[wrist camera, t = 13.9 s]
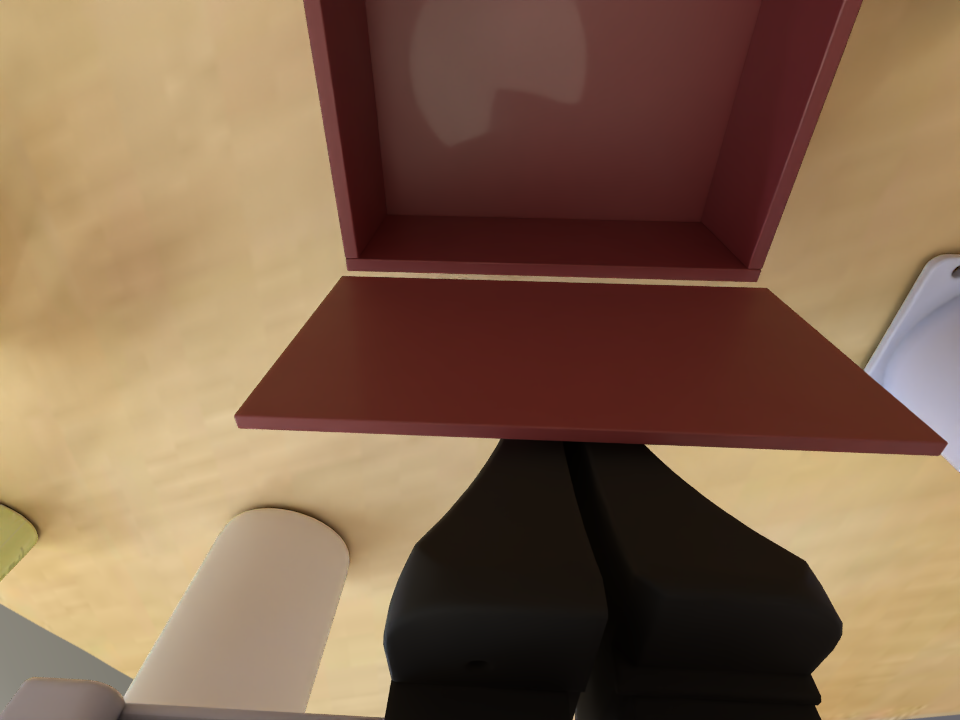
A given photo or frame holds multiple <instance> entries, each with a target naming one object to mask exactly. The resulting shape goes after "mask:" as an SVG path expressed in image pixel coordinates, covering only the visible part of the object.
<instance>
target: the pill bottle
mask: <svg viewBox="0 0 960 720" xmlns="http://www.w3.org/2000/svg"><path fill="white" fill-rule="evenodd" d="M348 567H349V552H348V549H347V546H346V544H345V542H344V541H343V540H342V538H341V537H340V536H339V535H338V534H337V533H336V532H335V531H334V530H332V529H331V528H330V527H328V526H327V525H325V524H324V523H322V522H320V521H318V520H316V519H314V518H312V517H310V516H307V515H304V514H301V513H298V512H294V511H290V510H284V509H276V508H260V509H253V510H249V511H245V512H243V513H240V514H239V515H237V516H235V517H234V518H232V519H231V520H230V521H229V522H228V523H227V524H226V525H225V527H224V528H223V529H222V531H221V532H220V533H219V535H218V536H217V538H216V540H215V542H214V543H213V545H212V547H211V548H210V550H209V552H208V554H207V555H206V557H205V559H204V560H203V562H202V564H201V565H200V567H199V569H198V571H197V572H196V574H195V576H194V577H193V579H192V581H191V583H190V584H189V586H188V588H187V589H186V591H185V593H184V595H183V596H182V598H181V600H180V601H179V603H178V605H177V607H176V608H175V610H174V612H173V613H172V615H171V617H170V618H169V620H168V622H167V624H166V625H165V627H164V629H163V630H162V632H161V634H160V636H159V637H158V639H157V641H156V642H155V644H154V646H153V648H152V649H151V651H150V653H149V654H148V656H147V658H146V660H145V661H144V663H143V665H142V666H141V668H140V670H139V671H138V673H137V675H136V677H135V678H134V680H133V682H132V684H131V685H130V687H129V689H128V690H127V692H126V694H125V695H124V697H123V698H124V700H125V703H139V704H156V705H173V706H190V707H207V708H225V709H242V710H259V711H276V712H293V713H305V710H306V707H307V704H308V700H309V697H310V694H311V691H312V687H313V684H314V681H315V678H316V674H317V671H318V668H319V665H320V661H321V658H322V655H323V652H324V648H325V645H326V642H327V639H328V635H329V632H330V629H331V626H332V622H333V619H334V616H335V612H336V609H337V606H338V603H339V599H340V596H341V593H342V590H343V586H344V583H345V580H346V577H347V572H348Z"/></svg>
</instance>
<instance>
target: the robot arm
mask: <svg viewBox="0 0 960 720" xmlns="http://www.w3.org/2000/svg"><path fill="white" fill-rule="evenodd" d="M958 266H960V254H943V255H939V256H937V257H934V258H933V259H931V260H930V261H929V262H928V263H927V264H926V265H925V267H924V268H923V270H922V272H921V273H920V275H919V277H918V279H917V280H916V282H915V284H914V285H913V287H912V289H911V290H910V292H909V294H908V296H907V297H906V299H905V301H904V302H903V304H902V306H901V308H900V309H899V311H898V313H897V314H896V316H895V318H894V319H893V321H892V323H891V325H890V326H889V328H888V330H887V331H886V333H885V335H884V337H883V338H882V340H881V342H880V343H879V345H878V347H877V348H876V350H875V352H874V354H873V355H872V357H871V359H870V360H869V362H868V364H867V366H866V367H865V369H864V371H865V372H866V373H867V374H868V375H869V376H871V377H872V378H873V379H874V380H875V381H876V382H878V383H879V384H880V385H881V386H882V387H884V388H885V389H886V390H887V391H888V392H889V393H891V394H892V395H893V396H894V397H895V398H896V399H898V400H899V401H900V402H901V403H902V404H903V405H905V406H906V407H907V408H908V409H909V410H910V411H912V412H913V413H914V414H915V415H916V416H917V417H919V418H920V419H921V420H922V421H923V422H925V423H926V424H927V425H928V426H929V427H930V428H932V429H933V430H934V431H935V432H936V433H937V434H939V435H940V436H941V437H942V438H943V439H944V440H946V441H947V442H948V445H947V446H946V447H945V449H944V450H943V452H942V453H941V455H942V456H943V457H944V458H945V459H946V460H947V461H948V462H949V463H950V464H951V465H952V466H953V467H954V468H955V469H956V470H957V471H958V472H959V473H960V267H959V268H958V269H957V270H956V271H954V272H953V270H954V269H955V268H956V267H958ZM952 272H953V273H952ZM842 626H843V623H842V621H841V620H840V618H839V616H838V614H837V612H836V611H835V609H834V607H833V605H832V604H831V602H830V600H829V598H828V596H827V594H826V592H825V591H824V589H823V587H822V585H821V584H820V582H819V581H818V579H817V578H816V576H815V575H814V573H813V572H812V570H811V569H810V567H809V565H808V564H807V562H806V561H804V560H803V559H801V558H799V557H798V556H796V555H794V554H793V553H791V552H789V551H787V550H786V549H784V548H782V547H781V546H779V545H777V544H776V543H774V542H772V541H770V540H769V539H767V538H765V537H764V536H762V535H760V534H759V533H757V532H755V531H754V530H752V529H751V528H749V527H747V526H746V525H744V524H743V523H741V522H740V521H738V520H737V519H736V518H734V517H733V516H731V515H730V514H728V513H727V512H725V511H724V510H722V509H721V508H719V507H718V506H717V505H715V504H714V503H712V502H711V501H710V500H708V499H707V498H706V497H704V496H703V495H702V494H700V493H699V492H698V491H697V490H695V489H694V488H693V487H692V486H690V485H689V484H688V483H686V482H685V481H684V480H683V479H681V478H680V477H679V476H678V475H677V474H675V473H674V472H673V471H672V470H671V469H670V468H669V467H667V466H666V465H665V464H664V463H663V462H662V461H661V460H660V459H659V458H658V457H657V456H656V455H654V454H653V453H652V452H651V451H650V450H649V449H648V448H647V447H646V446H645V445H644V444H625V443H599V442H574V441H548V440H523V439H500V441H499V443H498V445H497V446H496V448H495V450H494V451H493V453H492V455H491V456H490V458H489V459H488V461H487V462H486V464H485V465H484V467H483V468H482V470H481V471H480V473H479V474H478V475H477V477H476V478H475V480H474V481H473V482H472V484H471V485H470V486H469V487H468V489H467V490H466V491H465V492H464V493H463V495H462V496H461V497H460V498H459V499H458V500H457V502H456V503H455V504H454V505H453V506H452V507H451V509H450V510H449V511H448V512H447V513H446V514H445V515H444V516H443V518H442V519H441V520H440V521H439V522H438V523H436V524H435V525H434V526H433V527H432V528H431V529H430V530H429V531H428V532H427V533H426V534H425V535H424V536H423V537H422V538H421V539H420V540H419V541H418V542H417V543H416V544H415V546H414V548H413V550H412V552H411V554H410V556H409V558H408V560H407V562H406V564H405V566H404V568H403V570H402V573H401V575H400V577H399V579H398V582H397V584H396V587H395V590H394V593H393V596H392V599H391V602H390V605H389V610H388V615H387V620H386V625H385V630H384V640H383V645H384V649H385V654H386V658H387V662H388V666H389V671H390V675H391V679H392V680H391V685H390V691H389V697H388V702H387V708H386V714H385V718H380V717H362V716H345V715H328V714H311V713H293V712H276V711H259V710H242V709H225V708H207V707H190V706H173V705H156V704H139V703H125V700H124V698H123V697H122V695H121V694H120V693H119V692H118V691H117V690H116V689H114V688H113V687H111V686H110V685H107V684H104V683H101V682H98V681H91V680H79V679H62V678H60V679H59V678H44V677H32V678H29V679H27V680H25V681H24V683H23V684H22V685H21V687H20V688H19V689H18V691H17V692H16V694H15V695H14V696H13V698H12V699H11V700H10V702H9V703H8V704H7V706H6V707H5V708H4V710H3V711H2V713H1V714H0V720H573V716H574V713H575V720H821V718H820V716H819V714H818V711H817V709H816V707H815V705H819V704H820V703H821V695H820V693H819V691H818V689H817V687H816V684H815V682H814V680H813V678H812V676H811V673H812V672H813V671H814V670H815V669H816V668H817V667H818V666H819V665H820V664H821V662H822V661H823V660H824V659H825V658H826V657H827V656H828V655H829V654H830V653H831V652H832V651H833V649H834V648H835V646H836V645H837V643H838V641H839V640H840V638H841V636H842Z"/></svg>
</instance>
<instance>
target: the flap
mask: <svg viewBox="0 0 960 720" xmlns="http://www.w3.org/2000/svg"><path fill="white" fill-rule="evenodd" d="M234 417H235V420H236V423H237V426H238V428H243V429H268V430H294V431H319V432H345V433H370V434H396V435H421V436H447V437H472V438H497V439H523V440H548V441H574V442H599V443H625V444H650V445H675V446H701V447H726V448H752V449H777V450H803V451H828V452H853V453H879V454H904V455H930V456H939V455H940V454H941V453H942V452H943V450H944V449H945V447H946V446H947V445H948V442H947V441H946V440H944V439H943V438H942V437H941V436H940V435H939V434H937V433H936V432H935V431H934V430H933V429H932V428H930V427H929V426H928V425H927V424H926V423H925V422H923V421H922V420H921V419H920V418H919V417H917V416H916V415H915V414H914V413H913V412H912V411H910V410H909V409H908V408H907V407H906V406H905V405H903V404H902V403H901V402H900V401H899V400H898V399H896V398H895V397H894V396H893V395H892V394H891V393H889V392H888V391H887V390H886V389H885V388H884V387H882V386H881V385H880V384H879V383H878V382H876V381H875V380H874V379H873V378H872V377H871V376H869V375H868V374H867V373H866V372H865V371H864V370H862V369H861V368H860V367H859V366H858V365H857V364H855V363H854V362H853V361H852V360H851V359H850V358H848V357H847V356H846V355H845V354H844V353H842V352H841V351H840V350H839V349H838V348H837V347H835V346H834V345H833V344H832V343H831V342H830V341H828V340H827V339H826V338H825V337H824V336H823V335H821V334H820V333H819V332H818V331H817V330H816V329H814V328H813V327H812V326H811V325H810V324H809V323H807V322H806V321H805V320H804V319H803V318H801V317H800V316H799V315H798V314H797V313H796V312H794V311H793V310H792V309H791V308H790V307H789V306H787V305H786V304H785V303H784V302H783V301H782V300H780V299H779V298H778V297H777V296H776V295H775V294H773V293H772V292H771V291H770V290H769V289H768V288H747V287H711V286H676V285H640V284H604V283H569V282H533V281H498V280H462V279H427V278H391V277H356V276H342V277H341V278H340V280H339V281H338V282H337V283H336V285H335V286H334V287H333V289H332V290H331V291H330V293H329V294H328V295H327V296H326V298H325V299H324V300H323V302H322V303H321V304H320V305H319V307H318V308H317V309H316V311H315V312H314V313H313V314H312V316H311V317H310V318H309V320H308V321H307V322H306V323H305V325H304V326H303V327H302V329H301V330H300V331H299V332H298V334H297V335H296V336H295V338H294V339H293V340H292V341H291V343H290V344H289V345H288V347H287V348H286V349H285V350H284V352H283V353H282V354H281V356H280V357H279V358H278V360H277V361H276V362H275V363H274V365H273V366H272V367H271V369H270V370H269V371H268V372H267V374H266V375H265V376H264V378H263V379H262V380H261V381H260V383H259V384H258V385H257V387H256V388H255V389H254V390H253V392H252V393H251V394H250V396H249V397H248V398H247V399H246V401H245V402H244V403H243V405H242V406H241V407H240V408H239V410H238V411H237V412H236V414H235V416H234Z"/></svg>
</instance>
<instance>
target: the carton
mask: <svg viewBox="0 0 960 720" xmlns="http://www.w3.org/2000/svg"><path fill="white" fill-rule="evenodd" d="M862 1H863V0H303V2H304V8H305V14H306V20H307V26H308V33H309V39H310V45H311V51H312V57H313V63H314V69H315V75H316V81H317V88H318V94H319V100H320V106H321V112H322V118H323V124H324V130H325V136H326V142H327V149H328V155H329V161H330V167H331V173H332V179H333V185H334V191H335V197H336V203H337V210H338V216H339V222H340V228H341V234H342V240H343V246H344V252H345V257H346V264H347V270H348V271H375V272H411V273H447V274H483V275H519V276H555V277H591V278H627V279H663V280H699V281H735V282H757V280H758V278H759V275H760V273H761V269H762V267H763V265H764V262H765V259H766V257H767V254H768V251H769V249H770V246H771V243H772V241H773V238H774V235H775V233H776V230H777V227H778V225H779V222H780V219H781V217H782V214H783V211H784V209H785V206H786V203H787V201H788V198H789V195H790V193H791V190H792V187H793V185H794V182H795V179H796V177H797V174H798V171H799V169H800V166H801V164H802V161H803V158H804V156H805V153H806V150H807V148H808V145H809V142H810V140H811V137H812V134H813V132H814V129H815V126H816V124H817V121H818V118H819V116H820V113H821V110H822V108H823V105H824V102H825V100H826V97H827V94H828V92H829V89H830V86H831V84H832V81H833V78H834V76H835V73H836V70H837V68H838V65H839V62H840V60H841V57H842V55H843V52H844V49H845V47H846V44H847V41H848V39H849V36H850V33H851V31H852V28H853V25H854V23H855V20H856V17H857V15H858V12H859V9H860V7H861V4H862Z"/></svg>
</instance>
